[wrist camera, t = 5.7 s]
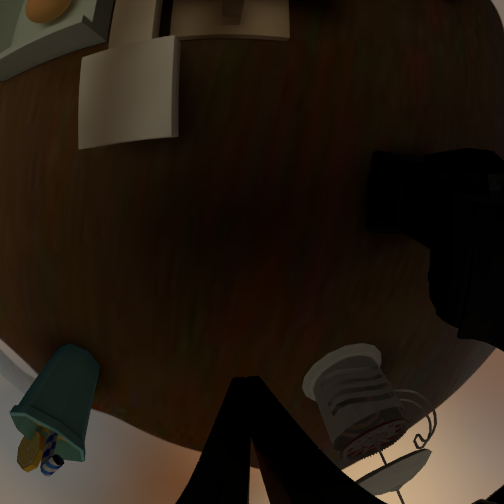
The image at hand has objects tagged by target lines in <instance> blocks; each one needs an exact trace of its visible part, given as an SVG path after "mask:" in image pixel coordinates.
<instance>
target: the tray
mask: <svg viewBox="0 0 504 504" xmlns="http://www.w3.org/2000/svg"><path fill="white" fill-rule="evenodd" d="M27 1H28V0H0V81H6V80H8V79H10V78H11V77H13V76H15V75H17V74H19V73H22V72H24V71H26V70H28V69H30V68H32V67H35V66H37V65H39V64H42V63H44V62H46V61H49V60H51V59H54V58H57V57H59V56H62V55H65V54H68V53H71V52H74V51H77V50H80V49H83V48H86V47H90V46H93V45H97V44H100V43H104V42H107V36H108V30H109V23H110V18H111V12H112V7H113V2H114V0H106V1H103V0H71V3H70V5H69V6H68V8H67V9H66V10H65V11H64V12H63V13H62V14H61V15H60V16H59V17H57V18H56V19H54V20H52V21H50V22H47V23H34V22H32V21H30V20H29V19H28V17H27V16H26V12H25V8H26V3H27Z"/></svg>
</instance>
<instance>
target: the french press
mask: <svg viewBox="0 0 504 504" xmlns="http://www.w3.org/2000/svg"><path fill="white" fill-rule="evenodd" d="M381 363H382V361H381V352H380V351H379V350H378V349H377V348H376V347H375V346H374V345H369V344H364V343H359V344H353V345H347V346H344V347H342V348H339V349H337V350H335V351H333V352H330V353H328V354H327V355H326V356H324V357H323V358H322V359H320V360H319V361H318V362H316V363H315V364H314V365H313V366H312V367H311V369H310V370H309V371H308V373H307V374H306V375H305V377H304V381H303V385H302V389H303V391H304V393H305V395H306V396H307V397H308V398H310V399H312V400H314V401H317V404H318V406H319V409H320V412H321V414H322V417H323V420H324V423H325V425H326V428H327V431H328V433H329V436H330V439H331V442H332V444H333V447H334V449H336V450H339V451H341V453H340V458H341V460H345V461H353V460H354V461H355V460H358V459H359V460H360V459H363V458H366V457H368V456H371V455H374V454H375V453H376V454H377V452H379V453H380V455H381V458H382V460H383V462H384V464H385V465H384V466H382V467H380V468H378V469H376V470H374V471H372V472H370V473H368V474H366V475H365V476H363V477H361V478H360V479H358V480H357V481H355V482H356V483H357V484H359V485H360V486H361V487H363V488H364V489H365V490H367V491H368V492H370V493H371V494H372V495H374V496H375V495H381V494H384V493H387V492H390V491H391V492H392V491H397V494H398V496H399V498H400V500H401V503H402V504H404V501H403V499H402V496H401V494H400V492H399V489H400V488H401V487H402V486H403V485H404V484H405V483H406V482H408V481H409V480H411V479H412V478H413V477H414V476H415V475H416V474H417V473H418V472H419V471H420V470H421V469H422V468H423V466H424V465H425V464H426V462H427V460H428V458H429V456H430V454H431V452H432V451H430V450H429V449H422V448H424V446H425V445H426V443H427V442H428V441H429V439H430V438H431V436H432V435H433V433H434V431H435V428H436V425H437V418H436V412H435V409H434V407H433V406H432V405H431V403H430V402H429V401H428V399H427V398H426V397H424V396H423V395H422V394H420V393H418V392H416V391H413V390H409V389H394V388H393V387H392V386H391V384H390V382H389V381H388V379H387V378H386V376H385V375H384V373H383V372H382V370H381V369H380V365H381ZM378 374H380V375H381V376H382V378H379V377H378ZM383 383H386V384H387V387H386V388H385V387H384V385H383ZM394 391H407V392H412V393H415V394H417V395H419V396H421V397H422V398H423V399H424V400H425V401H426V402H427V403H428V405H429V406H430V408H431V409H432V410H433V415H434V427H433V430H432V429H431V427H432V426H431V420H430V418H429V416H428V414H427V413H426V411H425V409H424V408H423V407H422V406H420V405H419V404H418V403H416V402H415V401H413V400H411V399H407V398H398V397H397V395H396V393H395V392H394ZM388 392H392V394H393V397H390V395H389V393H388ZM369 396H372V398H371V400H370V401H369V402H365V401H366V400H367V398H368V397H369ZM400 400H405V401H409V402H412V403H414V404H415V405H417V406H418V407H419V408H420V409H421V410H423V412H424V414H425V415H426V417H427V418H428V421H429V434H428V438H427V439H426V440H424V439H423V438H422V436H421V435H420V434H416V436H415V438H414V441H413V442H414V444H415V446H416V448H417V449H420V450H417V451H414V452H412V453H409V454H407V455H405V456H402V457H400V458H398V459H396V460H394V461H392V462H390V463H388V464H387V463H386V461H385V459H384V457H383V454H382V452H381V451H383V449H386V447H387V448H388V447H389V446H391V445H392V444H394V442H397V440H399V439H400V438H401V437H402V436H403V435H404V434H405V433H406V431H407V430H408V428H409V423H410V422H408V421H407V420H405V419H403V418H402V416H401V414H400V412H399V411H398V409H397V407H401V409H402V411H403V412H404V414H405V412H406V410H405V408H404V407H403V405H402V403H401V402H400ZM334 408H338V409H339V410H338V411H333V409H334ZM377 411H380V414H379V416H378V417H377V419H376V420H375V421H374V422H373V423H371V424H370V425H369V426H368V427H366V428H362V429H358V430H353V429H346V428H348V427H350V426H357V425H361V424H365V423H366V422H367V421H369V420H370V419H371V418H372V417H373V416H374V415H375V414H376V413H377ZM332 415H335V416H334V417H333V416H332ZM382 418H383V419H384V421H385V422H384V423H382V424H380V425H378V424H379V422H380V421H381V420H382ZM342 432H344V433H351V434H360V435H358V436H357V437H355V438H351V437H344V436H339V435H340V434H341V433H342ZM431 432H432V433H431ZM417 436H418V437H419V438H420V440H421V441H422V442H425V443H424V444H423V446H422V447H419V446H418V444H417V442H416V438H417Z"/></svg>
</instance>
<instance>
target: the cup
mask: <svg viewBox="0 0 504 504" xmlns="http://www.w3.org/2000/svg"><path fill="white" fill-rule="evenodd" d="M99 369H100V365H99V363H98V362H97V361H96V360H95V359H94V357H93V356H92V355H91V354H90V352H89V351H87V350H85V349H83V348H80V347H78V346H76V345H74V344H72V343H70V344H67V345H64V346H60V347H59V348H58V349H57V351H56V352H55V353H54V355H53V356H52V357H51V359H50V360H49V361H48V363H47V364H46V365H45V367H44V368H43V370H42V371H41V372H40V374H39V375H38V377H37V378H36V379H35V381H34V382H33V384H32V385H31V387H30V388H29V390H28V391H27V393H26V394H25V396H24V397H23V399H22V400H21V402H20V403H19V405H15V406H14V407H13V408H12V410H11V411H10V415H11V417H12V419H13V421H14V424H15V426H16V428H17V429H18V430H19V431H20V432H21V433H22V434H23V435H24V437H23V439H22V441H21V443H20V445H19V447H18V456H17V462H18V464H19V465H20V466H21V468H22V469H23V470H24V471H26V472H29V471H31V470H33V469H35V468H37V467H38V465H39V463H40V461H41V467H40V468H41V472H42V473H43V474H44V475H45V476H50V475H52V474H53V473H54V472H55V471H56V470H58V469H59V468H60V467H61V466H62V465H63V464H64V460H71V461H80V462H83V461H85V443H84V441H85V436H86V430H87V425H88V419H89V415H90V410H91V406H92V401H93V397H94V393H95V389H96V385H97V381H98V377H99ZM41 459H42V460H41ZM63 459H64V460H63Z"/></svg>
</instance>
